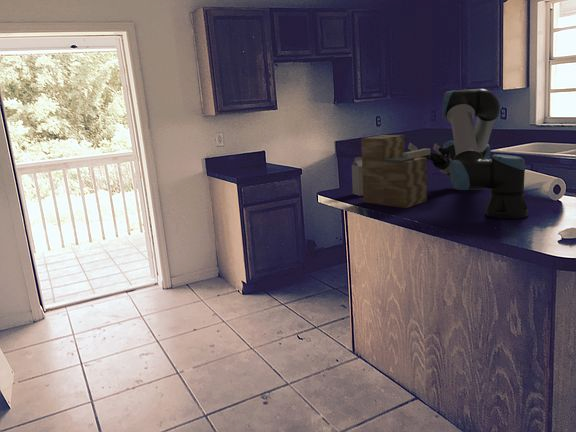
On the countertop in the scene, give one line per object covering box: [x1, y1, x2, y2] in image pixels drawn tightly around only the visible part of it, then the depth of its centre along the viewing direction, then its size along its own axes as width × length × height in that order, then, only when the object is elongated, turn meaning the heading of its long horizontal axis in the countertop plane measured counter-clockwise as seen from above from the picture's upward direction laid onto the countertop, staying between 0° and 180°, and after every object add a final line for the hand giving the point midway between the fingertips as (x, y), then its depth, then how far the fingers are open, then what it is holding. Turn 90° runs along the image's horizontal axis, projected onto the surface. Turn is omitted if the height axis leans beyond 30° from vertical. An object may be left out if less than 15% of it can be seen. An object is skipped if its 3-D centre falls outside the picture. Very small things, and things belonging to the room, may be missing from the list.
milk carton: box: [351, 156, 363, 197], centre depth 252 cm, size 7×7×19 cm
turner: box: [383, 148, 431, 163], centre depth 225 cm, size 27×10×3 cm, turn 131°
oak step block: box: [361, 134, 428, 209], centre depth 228 cm, size 16×24×30 cm, turn 41°
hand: (421, 145), depth 230 cm, fingers open, 13 cm apart
